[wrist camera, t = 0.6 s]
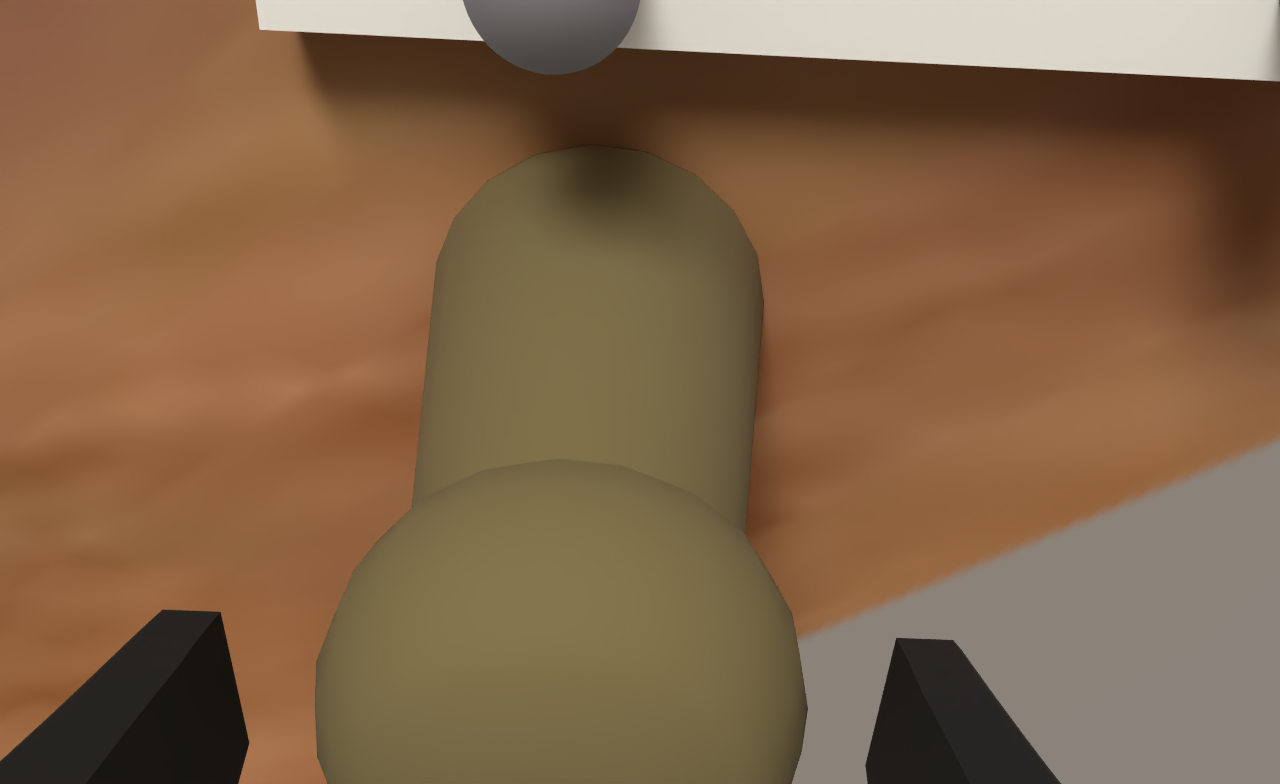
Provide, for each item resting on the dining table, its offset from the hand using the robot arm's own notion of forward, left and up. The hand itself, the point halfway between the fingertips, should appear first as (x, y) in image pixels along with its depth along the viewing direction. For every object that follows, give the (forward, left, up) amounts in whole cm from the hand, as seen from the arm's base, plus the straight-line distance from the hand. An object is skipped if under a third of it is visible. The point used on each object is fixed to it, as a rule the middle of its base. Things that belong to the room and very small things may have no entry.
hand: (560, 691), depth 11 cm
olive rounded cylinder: (0, 0, -9) cm, 9 cm away
